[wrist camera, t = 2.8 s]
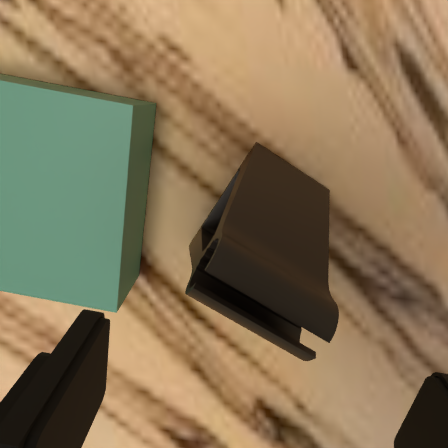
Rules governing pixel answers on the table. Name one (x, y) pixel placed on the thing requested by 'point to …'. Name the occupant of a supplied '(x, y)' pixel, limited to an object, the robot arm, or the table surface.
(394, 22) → the table surface
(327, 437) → the table surface
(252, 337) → the table surface
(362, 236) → the table surface
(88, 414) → the robot arm
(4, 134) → the green block
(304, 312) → the phone stand
